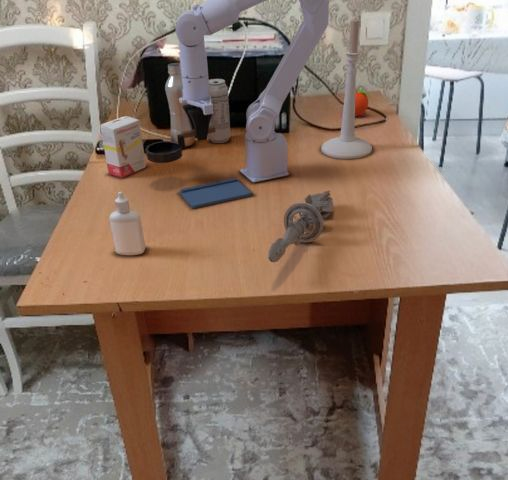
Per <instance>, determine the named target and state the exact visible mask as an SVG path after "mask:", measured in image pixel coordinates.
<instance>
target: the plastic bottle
mask: <svg viewBox="0 0 508 480" xmlns="http://www.w3.org/2000/svg"><path fill="white" fill-rule="evenodd" d="M167 73H168V78H167V80H166V82H165V85H164V91H165V95H166V99H167V103H168V109H169V115H170V129H169V131H170V132H169V134H170V135H169V137H170V141H173V142H177V143H178V138H177V135H179V134H181V132H182V131H187V130H192V128H191V124H190V121H189V119H188V117H187V114H186V113H185V111H184V109H183V107H182V106H184V105H188V104H187V103H180V102H179V98H182V97H183V92H182V89H183V83H182V74H181V65H180V62H172V63H169V64H167ZM184 140H185V148H186V147H189V146H191V145H192V146H193V144H194V142H195V140H196V138H195V137H194V136H193V137H188V138H184Z"/></svg>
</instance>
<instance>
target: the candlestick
mask: <svg viewBox="0 0 508 480" xmlns="http://www.w3.org/2000/svg"><path fill="white" fill-rule="evenodd" d="M349 22H350V23H349V24H350V25H349V26H350V27H349V39H348V40H349V41H348V50H347V51H345V52H344V54H345V55H346V57H347V58H346V61H347V64H348V67H347V69H346V71H347V73H346V80H345V81H346V82H345V89H344V99H343V108H342V118H341V126H340V134H339V136H337V137H333V138H330V139H327V140H326V141H325V142H324V143H322V145H321V153H323V154H324V155H326V156H328V157H331V158H335V159H340V160H341V159H342V160H353V159H360V158H364V157H367V156H369V155H370V154H371V153H372V151H373V147H372V144H371V143H369V142H368V141H367V140H365V139H363V138H360V137H357V136H356V135H355V133H356V131H355V127H356V125H355V124H356V123H355V122H356V116H355V90H356V82H357V81H356V80H357V79H356V78H357V68H356V65H357V62H358V61H359V55H360V54H361V53H362V52H361V51H358V48H359V47H358V46H359V34H360V33H359V30H360V19H357V18H356V17H355V18H354V19H350V21H349Z"/></svg>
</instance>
